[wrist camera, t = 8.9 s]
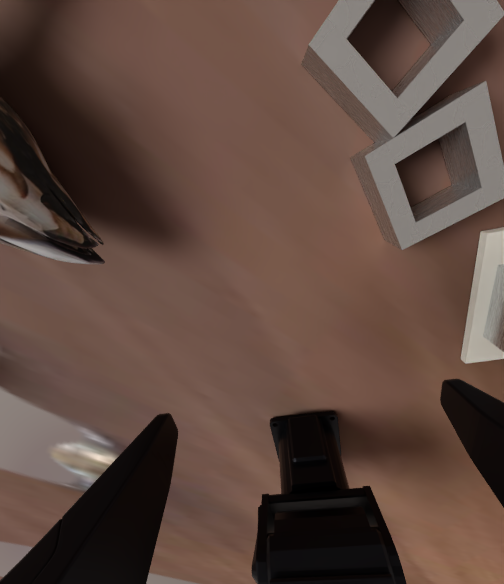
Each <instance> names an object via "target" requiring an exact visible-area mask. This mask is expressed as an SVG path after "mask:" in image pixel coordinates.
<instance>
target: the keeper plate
mask: <svg viewBox="0 0 504 584" xmlns="http://www.w3.org/2000/svg"><path fill="white" fill-rule="evenodd" d="M500 264H504V227H502V228H497V229H491V230H486V231H481V233H480V239H479V245H478V252H477V258H476V264H475V270H474V277H473V283H472V289H471V296H470V302H469V308H468V315H467V321H466V327H465V334H464V340H463V346H462V353H461V360H462V361H463V362H464V363H465V364H466V363H474V362H482V361H490V360H497V359H504V352H503V351H502V350H500V349H499V348H498V347H496V346H495V345H494V344H492V343H491V342H490V341H488V340H487V339H486V338H485V337H483V334H484V329H485V324H486V319H487V315H488V310H489V305H490V300H491V296H492V291H493V286H494V281H495V277H496V272H497V267H498V265H500Z"/></svg>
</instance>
